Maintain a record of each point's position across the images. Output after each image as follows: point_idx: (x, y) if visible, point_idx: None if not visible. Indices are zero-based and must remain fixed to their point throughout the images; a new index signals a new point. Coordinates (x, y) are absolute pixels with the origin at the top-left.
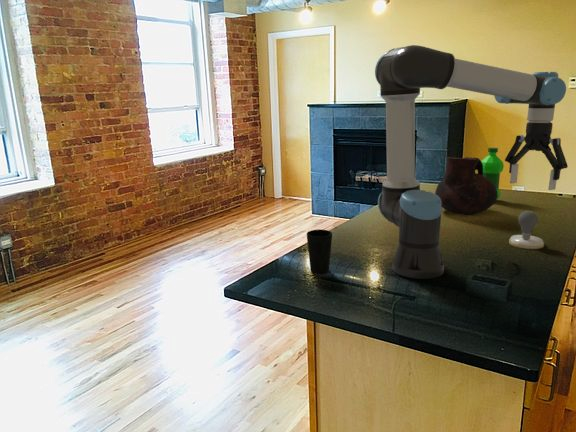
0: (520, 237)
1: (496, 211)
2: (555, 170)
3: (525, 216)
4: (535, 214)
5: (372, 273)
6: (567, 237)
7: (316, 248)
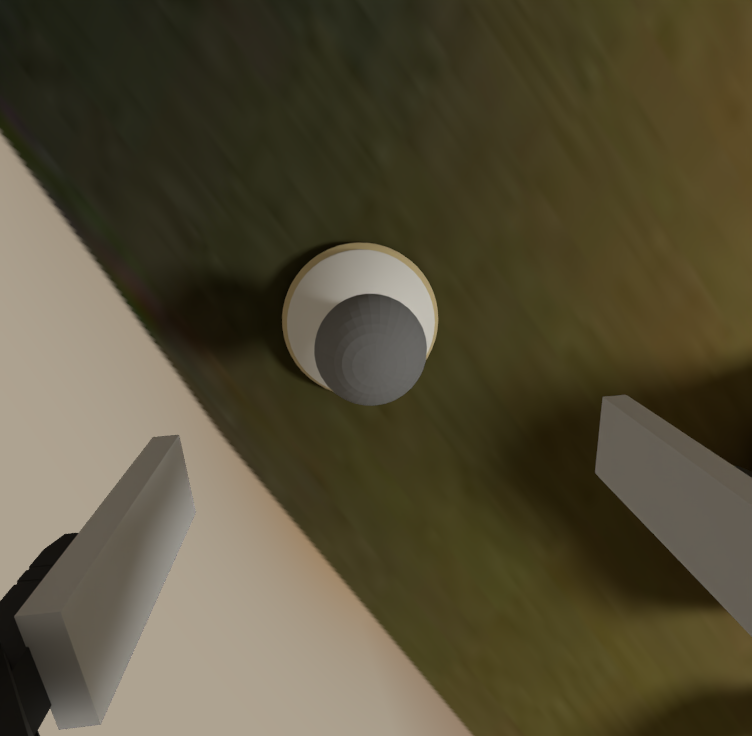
0: None
1: None
2: (5, 643)
3: (360, 312)
4: (335, 378)
5: None
6: (328, 541)
7: None
